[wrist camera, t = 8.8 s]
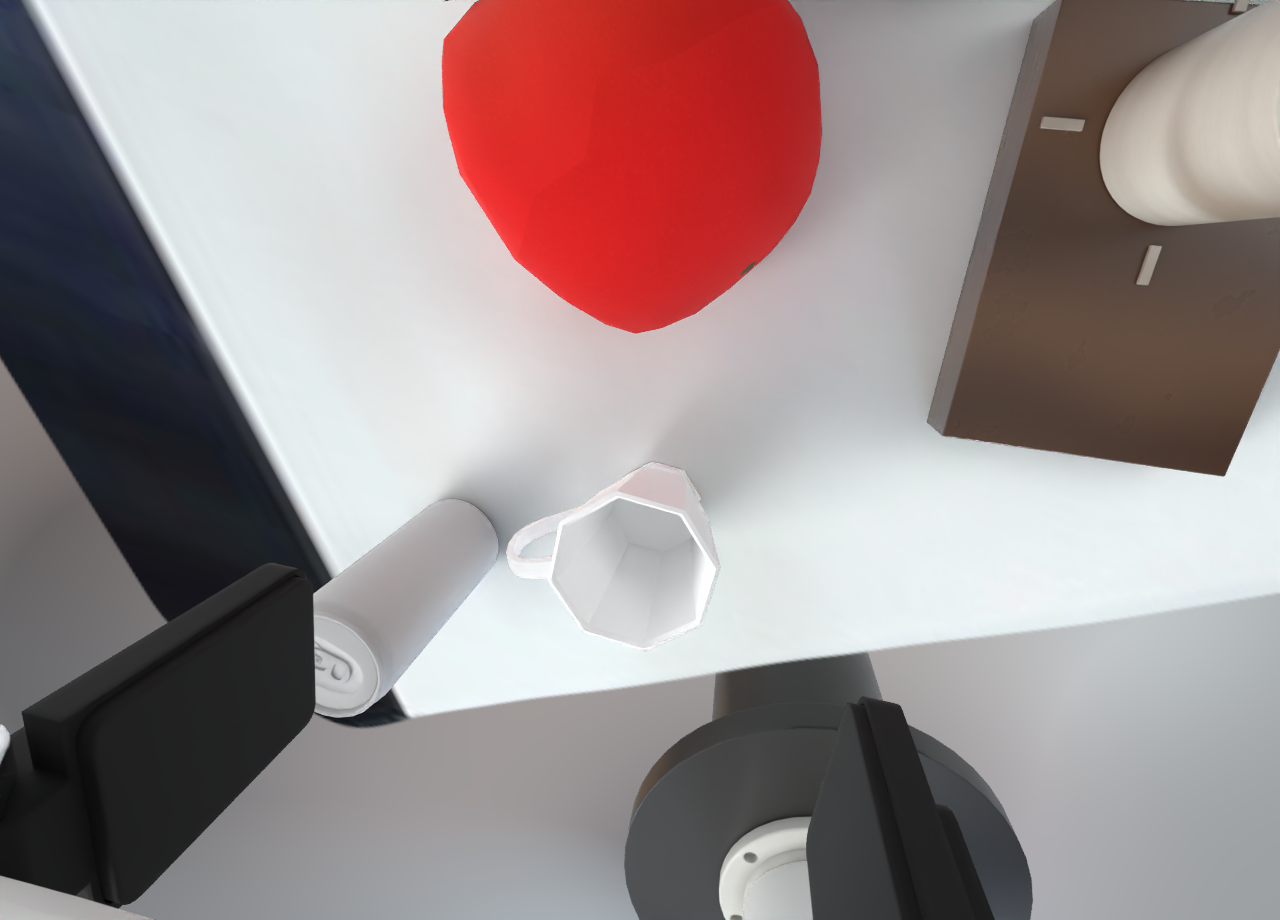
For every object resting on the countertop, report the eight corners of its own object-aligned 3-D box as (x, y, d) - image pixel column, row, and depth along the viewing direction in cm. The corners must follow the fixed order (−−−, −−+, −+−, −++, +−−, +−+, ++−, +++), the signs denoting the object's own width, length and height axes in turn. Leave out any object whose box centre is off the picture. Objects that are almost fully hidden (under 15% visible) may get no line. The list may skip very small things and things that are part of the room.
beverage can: (436, 480, 34) (282, 588, 23) (515, 520, 34) (400, 648, 22) (410, 550, 35) (253, 684, 24) (485, 588, 35) (364, 741, 24)
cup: (734, 558, 32) (731, 648, 25) (552, 571, 34) (497, 658, 27) (718, 428, 30) (708, 482, 23) (526, 450, 32) (459, 506, 25)
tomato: (767, 268, 31) (625, 14, 29) (981, 133, 19) (762, -319, 17) (554, 401, 27) (375, 122, 25) (650, 340, 15) (322, -203, 13)
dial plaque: (1184, 459, 27) (1228, 478, 25) (926, 422, 29) (943, 437, 26) (1370, 4, 22) (1450, -29, 20) (1042, -16, 23) (1077, -49, 21)
